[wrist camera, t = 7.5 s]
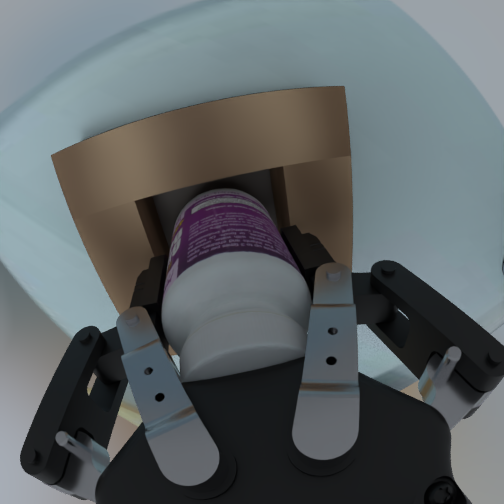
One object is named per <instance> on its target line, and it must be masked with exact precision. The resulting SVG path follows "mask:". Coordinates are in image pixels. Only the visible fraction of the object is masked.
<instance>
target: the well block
mask: <svg viewBox="0 0 504 504" xmlns="http://www.w3.org/2000/svg"><path fill="white" fill-rule="evenodd" d="M51 158H52V161H53V164H54V167H55V171H56V174H57V177H58V180H59V183H60V186H61V188H62V191H63V194H64V197H65V199H66V202H67V205H68V207H69V210H70V213H71V215H72V218H73V220H74V223H75V225H76V227H77V230H78V232H79V234H80V237H81V239H82V241H83V244H84V246H85V248H86V250H87V252H88V255H89V257H90V259H91V261H92V263H93V265H94V267H95V269H96V271H97V273H98V275H99V277H100V279H101V281H102V283H103V285H104V287H105V289H106V291H107V293H108V295H109V297H110V299H111V300H112V302H113V304H114V306H115V308H116V309H117V311H118V313H119V315H121V313H123V312H124V311H125V310H127V309H129V307H130V303H131V299H132V296H133V292H134V288H135V286H136V285H135V284H136V281H137V277H138V276H139V275H140V273H141V272H142V271H143V270H146V269H148V267H149V263H150V259H151V258H152V257H156V256H160V255H164V254H166V255H167V256H168V258H169V253H170V247H171V242H172V236H173V231H174V226H175V223H176V220H177V218H178V216H179V214H180V212H181V211H182V209H183V208H184V207H185V205H186V204H187V203H188V202H190V201H191V200H192V199H193V198H195V197H196V196H197V195H199V194H202V193H204V192H207V191H210V190H214V189H224V188H227V189H237V190H240V191H243V192H245V193H247V194H249V195H251V196H253V197H254V198H256V199H257V200H258V201H259V202H260V203H261V204H262V205H263V206H264V207H265V209H266V210H267V212H268V213H269V215H270V217H271V219H272V220H273V222H274V224H275V226H276V228H277V230H278V232H279V233H280V228H284V227H288V226H293V225H296V226H297V227H298V229H299V230H300V232H301V233H302V234H304V233H310V234H312V235H314V236H316V237H317V238H318V239H319V240H320V242H321V244H323V246H324V247H325V248H326V250H327V251H328V252H329V254H330V255H331V256H332V258H333V259H334V260H335V262H336V263H341V264H344V265H346V266H347V267H348V268H349V269H350V270H351V272H352V247H353V196H352V168H351V150H350V136H349V124H348V113H347V104H346V95H345V87H344V86H327V87H308V88H297V89H287V90H278V91H270V92H262V93H255V94H249V95H243V96H237V97H231V98H226V99H221V100H216V101H211V102H206V103H202V104H197V105H193V106H189V107H185V108H181V109H177V110H173V111H169V112H166V113H162V114H158V115H155V116H152V117H148V118H145V119H142V120H139V121H135V122H132V123H129V124H126V125H123V126H120V127H118V128H115V129H112V130H109V131H106V132H104V133H101V134H98V135H96V136H93V137H91V138H88V139H86V140H83V141H81V142H79V143H76V144H74V145H72V146H70V147H67V148H65V149H63V150H61V151H59V152H57V153H55V154H52V155H51ZM169 353H170V355H177V354H176V353H175V351H174V350H173V349H172V348H171V346H170V345H169Z"/></svg>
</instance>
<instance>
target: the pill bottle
mask: <svg viewBox="0 0 504 504" xmlns="http://www.w3.org/2000/svg"><path fill="white" fill-rule="evenodd" d="M311 304H312V299H311V294H310V291H309V288H308V286H307V283H306V281H305V279H304V277H303V276H302V274H301V272H300V270H299V268H298V266H297V265H296V263H295V261H294V259H293V257H292V255H291V254H290V252H289V250H288V248H287V246H286V244H285V243H284V241H283V239H282V237H281V235H280V233H279V232H278V230H277V228H276V226H275V224H274V222H273V220H272V219H271V217H270V215H269V213H268V212H267V210H266V209H265V207H264V206H263V205H262V204H261V203H260V202H259V201H258V200H257V199H256V198H254V197H253V196H251V195H249V194H247V193H245V192H243V191H240V190H237V189H227V188H224V189H214V190H210V191H207V192H204V193H202V194H199V195H197V196H196V197H195V198H193V199H192V200H191V201H190V202H188V203H187V204H186V205H185V207H184V208H183V209H182V211H181V212H180V214H179V216H178V218H177V220H176V223H175V226H174V231H173V236H172V242H171V247H170V253H169V260H168V266H167V273H166V280H165V287H164V294H163V303H162V325H163V331H164V334H165V336H166V339H167V341H168V343H169V345H170V346H171V348H172V349H173V350H174V351H175V353H176V354H177V355H178V356H179V357H180V380H181V383H182V382H192V381H199V380H206V379H212V378H217V377H223V376H228V375H233V374H238V373H242V372H247V371H252V370H256V369H260V368H265V367H269V366H273V365H277V364H281V363H285V362H288V361H291V360H295V359H298V358H301V357H304V356H305V353H306V345H307V337H308V334H307V332H308V328H309V319H310V310H311Z"/></svg>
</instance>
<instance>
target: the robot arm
mask: <svg viewBox="0 0 504 504" xmlns="http://www.w3.org/2000/svg"><path fill="white" fill-rule="evenodd" d="M280 235H281V237H282V239H283V241H284V243H285V244H286V246H287V248H288V250H289V252H290V254H291V255H292V257H293V259H294V261H295V263H296V265H297V266H298V268H299V270H300V272H301V274H302V276H303V277H304V279H305V281H306V283H307V286H308V288H309V291H310V294H311V299H312V304H311V310H310V319H309V328H308V337H307V345H306V353H305V356H304V357H301V358H298V359H295V360H291V361H288V362H285V363H281V364H277V365H273V366H269V367H265V368H260V369H256V370H252V371H247V372H242V373H238V374H233V375H228V376H223V377H217V378H212V379H206V380H199V381H192V382H182V383H181V380H180V372H179V370H178V368H177V366H176V364H175V362H174V361H173V359H172V357H171V355H170V353H169V343H168V341H167V339H166V336H165V334H164V331H163V325H162V303H163V294H164V287H165V280H166V273H167V266H168V260H169V258H168V256H167V255H166V254H164V255H160V256H156V257H152V258H151V259H150V263H149V267H148V269H146V270H143V271H142V272H141V273H140V275H139V276H138V277H137V281H136V284H135V285H136V286H135V288H134V292H133V296H132V299H131V303H130V307H129V309H127V310H125V311H124V312H123V313H121V315H120V316H119V317H118V319H117V321H116V327H114V328H112V329H110V330H108V331H105V332H103V333H101V332H100V331H99V329H98V328H97V327H95V326H88V327H85V328H83V329H81V330H80V331H79V332H77V333H76V335H75V336H74V338H73V339H72V341H71V343H70V345H69V347H68V349H67V350H66V352H65V354H64V356H63V358H62V360H61V362H60V364H59V366H58V368H57V370H56V372H55V374H54V376H53V378H52V380H51V382H50V384H49V386H48V388H47V390H46V393H45V394H44V397H43V399H42V401H41V403H40V406H39V408H38V410H37V413H36V415H35V417H34V420H33V422H32V424H31V427H30V429H29V432H28V434H27V437H26V440H25V442H24V445H23V448H22V451H21V455H20V462H21V466H22V468H23V469H24V471H25V472H26V473H28V474H30V475H31V476H33V477H35V478H37V479H39V480H40V481H42V482H43V483H44V484H46V485H48V486H50V487H52V488H54V489H56V490H58V491H60V492H63V493H65V494H68V495H71V496H74V497H76V498H78V499H81V500H91V501H93V502H96V504H472V503H471V502H470V500H469V499H468V498H467V497H466V496H465V495H464V493H463V492H462V491H461V489H460V488H459V487H458V485H457V484H456V482H455V480H454V477H453V473H452V468H451V459H450V458H451V454H450V451H451V433H450V430H451V429H452V428H453V427H454V426H455V425H456V424H457V423H458V422H459V421H460V420H461V419H466V418H468V417H470V416H471V415H472V414H473V413H474V412H475V411H476V410H477V409H478V408H479V407H480V406H481V404H482V403H483V402H484V401H485V400H486V399H487V397H488V396H489V395H490V394H491V392H492V391H493V390H494V389H495V388H496V386H497V385H498V384H499V382H500V381H501V380H502V378H503V377H504V346H503V345H502V344H501V343H500V342H498V341H497V340H496V339H495V338H494V337H493V336H492V335H490V334H489V333H488V332H487V331H486V330H485V329H483V328H482V327H481V326H480V325H479V324H477V323H476V322H475V321H474V320H473V319H471V318H470V317H469V316H468V315H466V314H465V313H464V312H463V311H461V310H460V309H459V308H458V307H456V306H455V305H454V304H453V303H451V302H450V301H449V300H448V299H446V298H445V297H444V296H442V295H441V294H440V293H438V292H437V291H436V290H435V289H433V288H432V287H431V286H429V285H428V284H427V283H425V282H424V281H422V280H421V279H420V278H418V277H417V276H416V275H414V274H413V273H412V272H410V271H409V270H407V269H406V268H405V267H403V266H402V265H400V264H399V263H397V262H394V261H390V260H383V261H379V262H376V263H375V264H374V265H373V266H372V268H371V272H369V273H352V272H351V270H350V269H349V268H348V267H347V266H346V265H344V264H341V263H336V262H335V260H334V259H333V258H332V256H331V255H330V254H329V252H328V251H327V250H326V248H325V247H324V246H323V244H321V242H320V240H319V239H318V238H317V237H316V236H314V235H312V234H310V233H304V234H302V233H301V232H300V230H299V229H298V227H297V226H296V225H293V226H288V227H284V228H280ZM503 273H504V265H503ZM398 309H400V310H401V311H402V312H403V313H404V314H405V315H406V316H407V317H408V319H409V320H408V319H407V318H406V317H405V316H404V315H403V314H402V313H401V312H399V311H398ZM358 324H366V325H367V326H368V327H369V328H370V329H371V330H372V331H373V332H374V333H375V334H376V336H377V337H378V338H379V339H380V340H381V341H382V342H383V343H384V344H385V345H386V346H387V347H388V348H389V349H390V350H391V351H392V352H393V353H394V354H395V355H396V356H397V357H398V358H399V359H400V360H401V361H402V362H403V363H404V364H405V365H406V367H407V368H408V369H409V370H410V371H411V372H412V373H413V374H414V375H415V376H416V377H417V378H418V379H419V383H418V389H419V392H420V394H421V395H422V399H423V401H424V402H422V401H420V400H417V399H415V398H413V397H411V396H409V395H407V394H404V393H402V392H400V391H398V390H396V389H393V388H391V387H389V386H387V385H385V384H383V383H381V382H379V381H376V380H374V379H372V378H370V377H368V376H366V375H364V374H362V373H360V372H358V343H357V325H358ZM93 373H94V374H95V375H96V376H97V378H96V380H95V383H94V385H93V388H92V390H91V393H90V395H88V393H87V386H88V383H89V381H90V378H91V376H92V374H93ZM128 381H129V384H130V387H131V390H132V393H133V396H134V399H135V402H136V404H137V407H138V410H139V413H140V415H141V418H142V420H143V422H142V423H141V424H140V426H139V427H138V428H137V430H136V431H135V432H134V433H133V435H132V436H131V437H130V438H129V440H128V441H127V442H126V444H125V445H124V446H123V447H122V449H121V450H120V451H119V452H118V454H117V455H116V456H115V457H114V459H113V460H112V461H111V462H110V457H109V454H108V452H107V447H108V444H109V440H110V437H111V434H112V430H113V427H114V424H115V420H116V417H117V414H118V411H119V408H120V405H121V402H122V399H123V396H124V393H125V390H126V387H127V384H128Z"/></svg>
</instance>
